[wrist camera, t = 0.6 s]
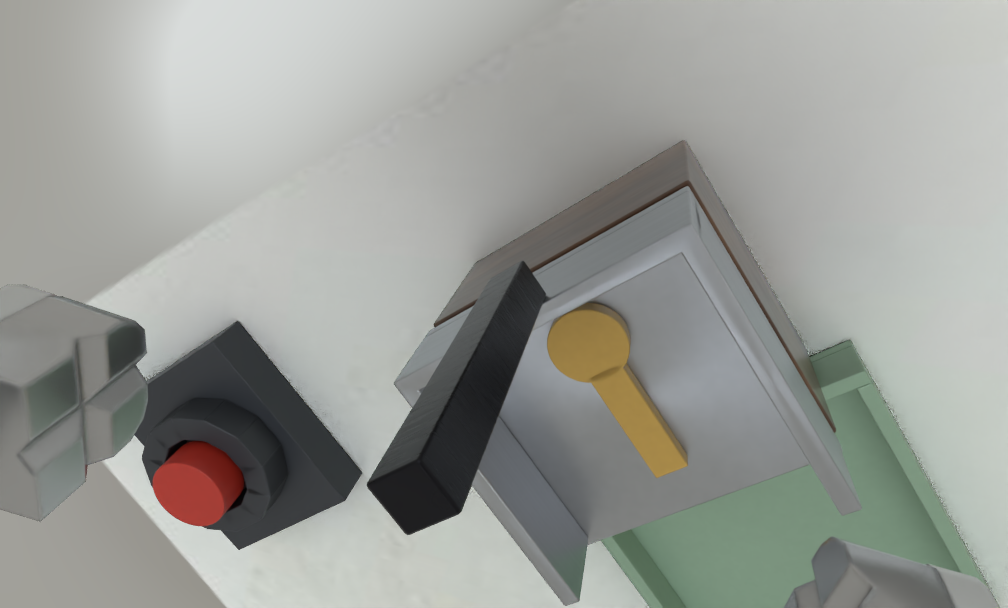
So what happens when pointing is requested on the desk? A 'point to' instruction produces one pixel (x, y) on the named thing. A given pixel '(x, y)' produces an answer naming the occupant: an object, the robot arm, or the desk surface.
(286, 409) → the grey button base
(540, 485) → the grey dustpan
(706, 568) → the tray
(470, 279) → the stand
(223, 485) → the bell button
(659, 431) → the tan wooden spoon shape
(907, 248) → the desk surface
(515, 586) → the desk surface
